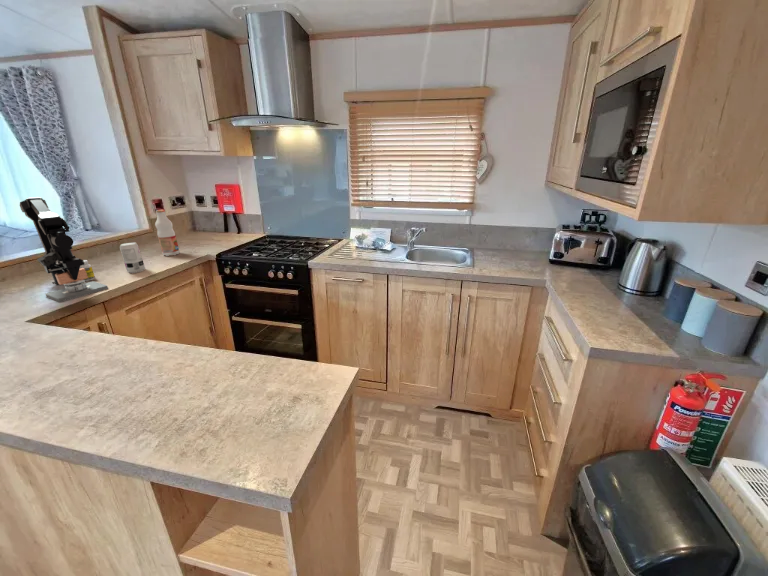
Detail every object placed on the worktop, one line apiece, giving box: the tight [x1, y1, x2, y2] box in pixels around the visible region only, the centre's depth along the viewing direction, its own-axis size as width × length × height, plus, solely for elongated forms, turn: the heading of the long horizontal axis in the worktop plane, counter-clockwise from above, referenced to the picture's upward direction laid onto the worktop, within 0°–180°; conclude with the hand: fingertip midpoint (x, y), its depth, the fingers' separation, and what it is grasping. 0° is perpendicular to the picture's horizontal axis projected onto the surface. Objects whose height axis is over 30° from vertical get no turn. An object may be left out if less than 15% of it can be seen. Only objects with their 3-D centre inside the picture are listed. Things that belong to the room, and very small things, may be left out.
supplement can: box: [119, 242, 146, 274], centre depth 180 cm, size 8×8×15 cm
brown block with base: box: [55, 268, 88, 292], centre depth 152 cm, size 9×10×8 cm
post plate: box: [44, 280, 109, 303], centre depth 153 cm, size 14×18×4 cm
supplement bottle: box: [80, 259, 96, 282], centre depth 169 cm, size 5×5×10 cm
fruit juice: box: [154, 209, 180, 257], centre depth 209 cm, size 9×9×28 cm
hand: (73, 279), depth 151 cm, fingers open, 4 cm apart
